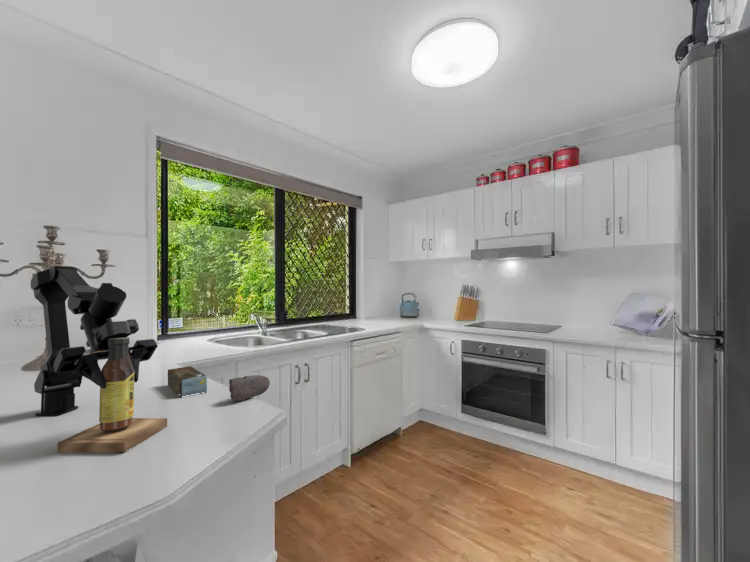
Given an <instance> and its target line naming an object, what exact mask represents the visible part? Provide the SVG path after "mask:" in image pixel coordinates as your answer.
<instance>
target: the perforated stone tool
mask: <svg viewBox="0 0 750 562" xmlns="http://www.w3.org/2000/svg"><path fill="white" fill-rule="evenodd" d="M228 381H229V383H228V384H229V386H228V387H229V389H228V390H229V392H230V396H229V397H230V398H231V400H232V402H238V401H245V400H247V399H248V398H249V399H251V398H250V397H252V398H254V397H257V396H260V395H262V394H264V393H265V392H267V390H268V389H269V388H270V385H271V383H270V382H271V381H270V378H268V377H267V376H265V375H257V374H256V375H255V374H254V375H245V376H242V377H234V378H230V379H229V380H228Z"/></svg>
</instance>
